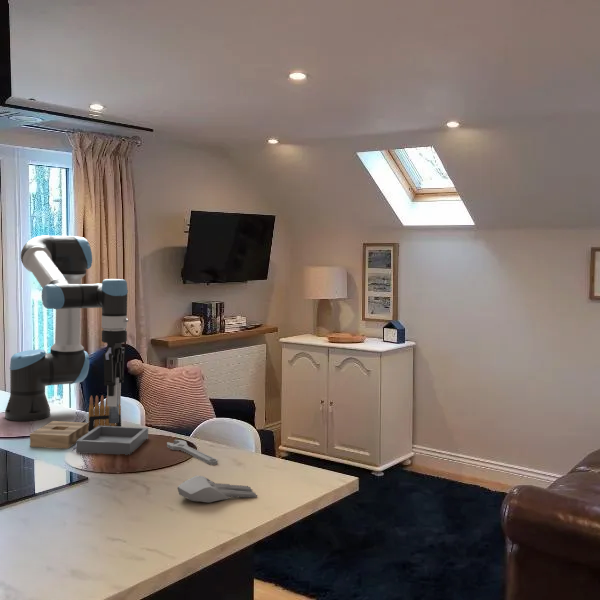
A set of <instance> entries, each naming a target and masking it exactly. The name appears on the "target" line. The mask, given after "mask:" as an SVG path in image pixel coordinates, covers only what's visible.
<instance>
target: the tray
mask: <svg viewBox="0 0 600 600" xmlns="http://www.w3.org/2000/svg"><path fill="white" fill-rule="evenodd" d="M146 439H147V440H148V439H149V427H136V426H135V427H134V426H121V427H119V426H97V427H96V428H94V429H93V430H91V431H90V432H89V431H88V433H87V434H85V435H84V436H82V437H81V438H80V439H78V440H77V441H76V444H75V446H76V447H75V449H76V450H75V452H76V453H82V454H83V453H85V454H101V453H103V454H104V455H120V454H125V455H124V456H131V455H132V454H133V453H134V452H135V451H136V450H137V449H139V447H141V445H143V444H142V443H143V442H144V441H145V440H146ZM147 440H146V441H147ZM146 441H145V442H146ZM145 442H144V443H145ZM135 449H136V450H135ZM134 450H135V451H134ZM133 451H134V452H133ZM132 452H133V453H132ZM128 454H129V455H128Z"/></svg>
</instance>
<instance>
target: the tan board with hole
mask: <svg viewBox="0 0 600 600" xmlns="http://www.w3.org/2000/svg"><path fill="white" fill-rule="evenodd" d="M88 432H89V431H88V422H82V421H81V422H80V421H79V422H78V421H60V420H59V421H57V420H52V421H50V422H48V423H47V424H45V425H43V426H41V427H39V428H38V429H36V430H34V431H33V432H31V433H30V434H29V447H30V448H31V447H32V448H50V449H66V450H67V449H70V448H71V447H73V446H74V445H76V441H77V440H78V439H80V438H81V437H82V436H84V435H85V434H87V433H88Z"/></svg>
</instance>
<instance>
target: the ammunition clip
mask: <svg viewBox="0 0 600 600" xmlns="http://www.w3.org/2000/svg"><path fill="white" fill-rule="evenodd" d="M99 400H100V403H99ZM121 410H122V405H121V404H119V423H109V406H107V396H105V399H104V395H103V394H102V395H101V396H100V399H99V395H96V396H95V399H94V398H93V395H90V397H89V405H88V422H87V423H88V432H90V431H91V430H93V429H94V428H96V427H97V426H119V427H122V413H121V412H122V411H121Z"/></svg>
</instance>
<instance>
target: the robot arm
mask: <svg viewBox="0 0 600 600" xmlns="http://www.w3.org/2000/svg"><path fill="white" fill-rule="evenodd" d="M20 260H21V263H22V265H23V267H24V268H25V269H26V270H27V271H28V272H29V273H32V275H33V276H34V277H35V279H36V281H37V282H38V284H39V285H40V287H41V288H42V290H41V301H42V305H43V307H44V308H45V309H52V310H55V333H54V334H55V335H54V336H55V337H54V344H52V345H51V347H50V352H49V353H48V352H46V351H45V350H44V349H39V348H38V349H27V350H23V351H19V352H17V353H14V354H13V355H12V356H11V357H10V363H9V365H10V366H9V370H10V371H9V373H10V374H9V375H10V376H9V379H10V380H9V381H10V382H9V385H10V386H9V387H10V389H9V390H10V396H9V398H8V402H7V404H6V406H5V407H6V408H5V410H4V418H5V419H7V420H9V421H16V422H29V421H37V420H38V421H40V420H43V419H47V418H48V417H50V416H51V407H50V404H49V401H48V399H47V396H46V386H55V385H57V386H58V385H59V386H61V385H73V384H78V383H79V384H80V383H82V382H84V380H85V379H86V378H87V377H88V374H89V369H90V359H89V358H90V356H89V353H88V352H87V351H85V347H84V346H83V345H82V344H81V309H97V308H101V328H102V331H101V342H102V343H104V344H106V350H105V352H103V353H102V358H103V375H104V376H103V377H104V378H103V379H104V381H103V382H104V383H103V385H104V386H107V388H106V392H107V395H106V397H107V406H114V407H116V406H117V385H115V384H116V377H119V404H120V405H121V404H122V403H121V400H122V398H121V397H122V396H121V394H122V393H121V392H122V391H121V389H122V383H124V381H125V380H124V369H125V366H124V365H125V352H126V348H125V347H123V346H122V344H124V343H126V342H127V341H128V331H127V328H128V322H129V319H128V293H129V290H128V282H127V280H126V279H123V278H121V279H120V278H105V279H103V280H102V282H101V283H99V282H97V283H82V279H83V278H84V277H85V276H86V274H87V270H88V269H90V268H91V267H92V263H93V254H92V248H91V246H90V243H89V241H88V239H86V238H85V237H82V236H75V235H48V234H47V235H46V234H45V235H38V236H35V237H33V238H31V239H29V240H28V241H27V242H26V243H25V244H24V245H23V247H22V249H21V252H20Z"/></svg>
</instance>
